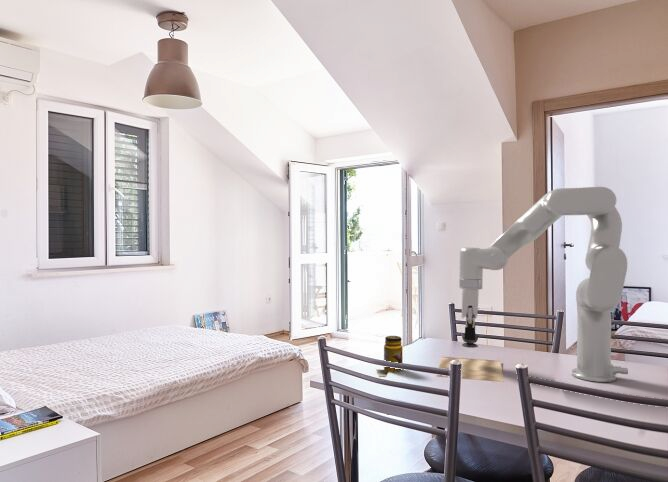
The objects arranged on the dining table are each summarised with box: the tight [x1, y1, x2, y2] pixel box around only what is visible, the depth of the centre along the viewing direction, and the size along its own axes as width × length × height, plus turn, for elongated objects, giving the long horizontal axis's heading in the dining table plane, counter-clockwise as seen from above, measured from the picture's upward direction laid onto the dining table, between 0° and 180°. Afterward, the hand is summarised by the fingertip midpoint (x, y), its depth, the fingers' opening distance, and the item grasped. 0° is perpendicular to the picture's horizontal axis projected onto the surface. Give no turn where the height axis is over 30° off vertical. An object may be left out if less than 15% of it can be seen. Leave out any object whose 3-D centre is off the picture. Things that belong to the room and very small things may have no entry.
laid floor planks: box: [435, 368, 504, 383], centre depth 156 cm, size 20×10×1 cm, turn 73°
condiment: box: [375, 335, 403, 377], centre depth 161 cm, size 7×8×12 cm
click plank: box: [438, 356, 503, 374], centre depth 167 cm, size 20×12×1 cm, turn 73°
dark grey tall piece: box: [460, 316, 480, 349], centre depth 166 cm, size 6×6×12 cm
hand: (470, 336), depth 167 cm, fingers closed on dark grey tall piece, 5 cm apart
